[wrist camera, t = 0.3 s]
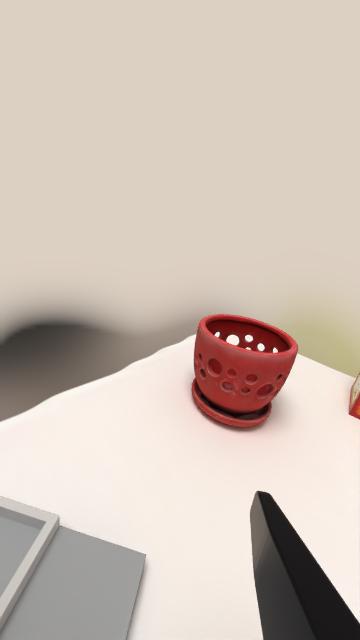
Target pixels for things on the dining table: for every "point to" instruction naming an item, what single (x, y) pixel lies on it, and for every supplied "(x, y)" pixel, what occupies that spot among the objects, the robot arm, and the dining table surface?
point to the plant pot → (240, 368)
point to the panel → (62, 579)
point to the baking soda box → (355, 399)
